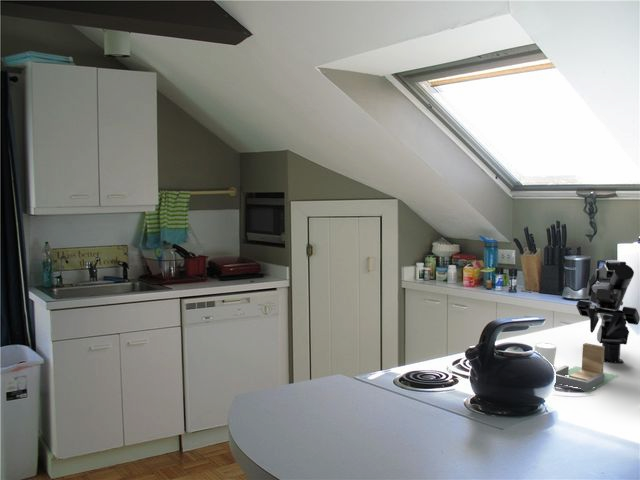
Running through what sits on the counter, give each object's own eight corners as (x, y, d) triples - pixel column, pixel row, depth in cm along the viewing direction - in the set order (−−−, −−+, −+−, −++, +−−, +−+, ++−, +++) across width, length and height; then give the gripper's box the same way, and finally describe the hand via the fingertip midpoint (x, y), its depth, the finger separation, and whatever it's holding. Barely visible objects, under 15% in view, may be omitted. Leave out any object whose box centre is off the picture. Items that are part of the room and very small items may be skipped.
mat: (575, 367, 226) (575, 366, 226) (619, 376, 216) (619, 375, 216) (544, 382, 210) (544, 381, 210) (589, 393, 200) (589, 392, 200)
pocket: (564, 373, 218) (564, 365, 218) (603, 382, 209) (604, 374, 209) (547, 381, 210) (547, 373, 209) (587, 391, 201) (587, 382, 201)
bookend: (584, 370, 221) (585, 343, 220) (603, 374, 217) (604, 346, 216) (569, 378, 213) (570, 349, 212) (588, 382, 209) (589, 353, 208)
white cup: (552, 363, 230) (553, 342, 229) (557, 369, 223) (558, 348, 222) (531, 362, 230) (532, 342, 230) (536, 368, 224) (537, 347, 223)
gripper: (580, 275, 228) (563, 313, 221) (638, 283, 215) (622, 323, 208) (588, 296, 234) (573, 333, 228) (646, 304, 221) (631, 344, 215)
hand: (598, 333), depth 219 cm, fingers open, 5 cm apart
